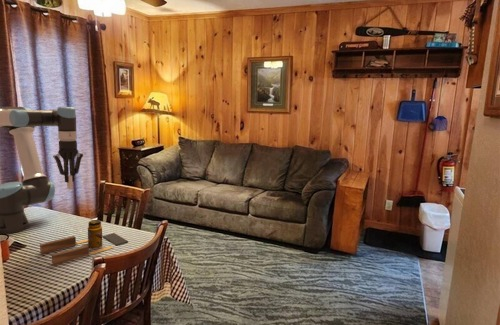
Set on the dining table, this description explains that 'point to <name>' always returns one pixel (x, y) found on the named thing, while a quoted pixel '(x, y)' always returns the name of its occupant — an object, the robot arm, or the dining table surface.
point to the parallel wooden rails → (64, 255)
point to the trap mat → (115, 239)
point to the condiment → (94, 235)
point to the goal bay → (97, 250)
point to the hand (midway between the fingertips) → (69, 188)
